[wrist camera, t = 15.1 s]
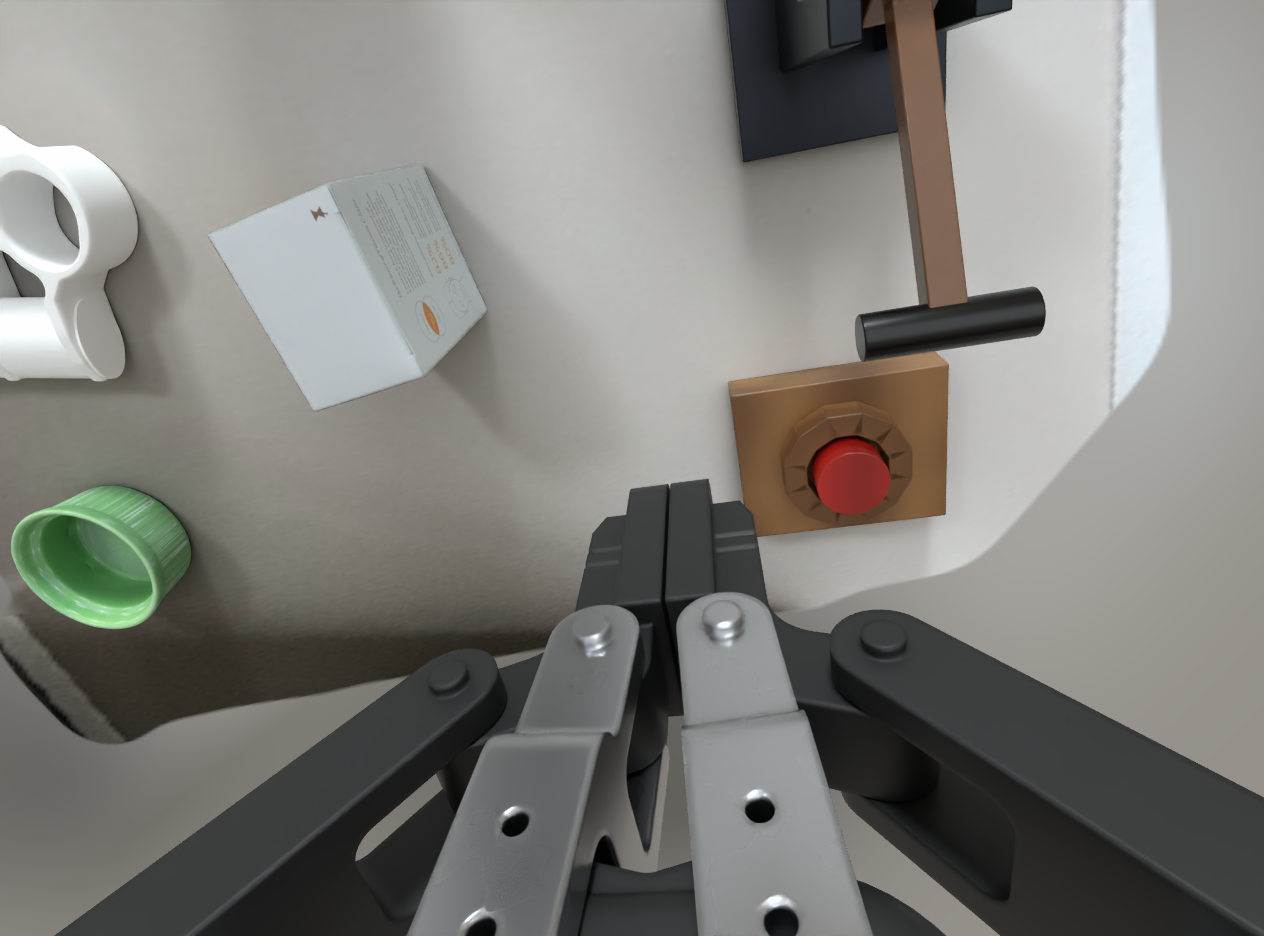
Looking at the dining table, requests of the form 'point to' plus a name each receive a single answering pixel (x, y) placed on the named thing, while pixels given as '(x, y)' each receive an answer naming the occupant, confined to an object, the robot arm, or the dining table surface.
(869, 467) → the button
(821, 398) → the button block
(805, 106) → the bracket
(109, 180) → the white brass knuckles
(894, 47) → the lever
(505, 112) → the dining table surface
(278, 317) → the small box
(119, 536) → the ramekin
